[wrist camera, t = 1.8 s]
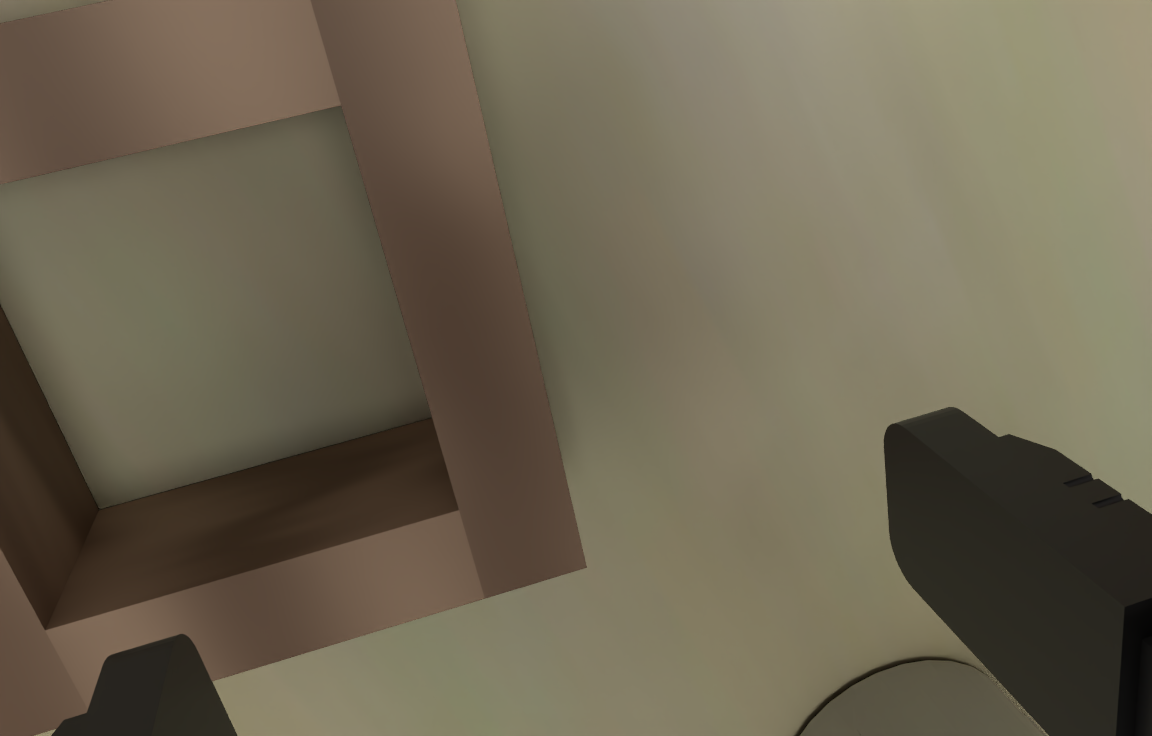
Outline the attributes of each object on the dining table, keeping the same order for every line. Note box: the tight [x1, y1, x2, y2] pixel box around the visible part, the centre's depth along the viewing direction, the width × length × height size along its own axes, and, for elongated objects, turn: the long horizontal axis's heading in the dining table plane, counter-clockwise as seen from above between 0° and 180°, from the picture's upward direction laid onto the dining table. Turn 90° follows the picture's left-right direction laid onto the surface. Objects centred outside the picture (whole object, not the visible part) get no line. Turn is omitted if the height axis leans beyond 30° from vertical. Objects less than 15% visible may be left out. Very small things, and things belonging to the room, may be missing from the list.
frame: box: [0, 0, 587, 736], centre depth 21 cm, size 14×14×5 cm
